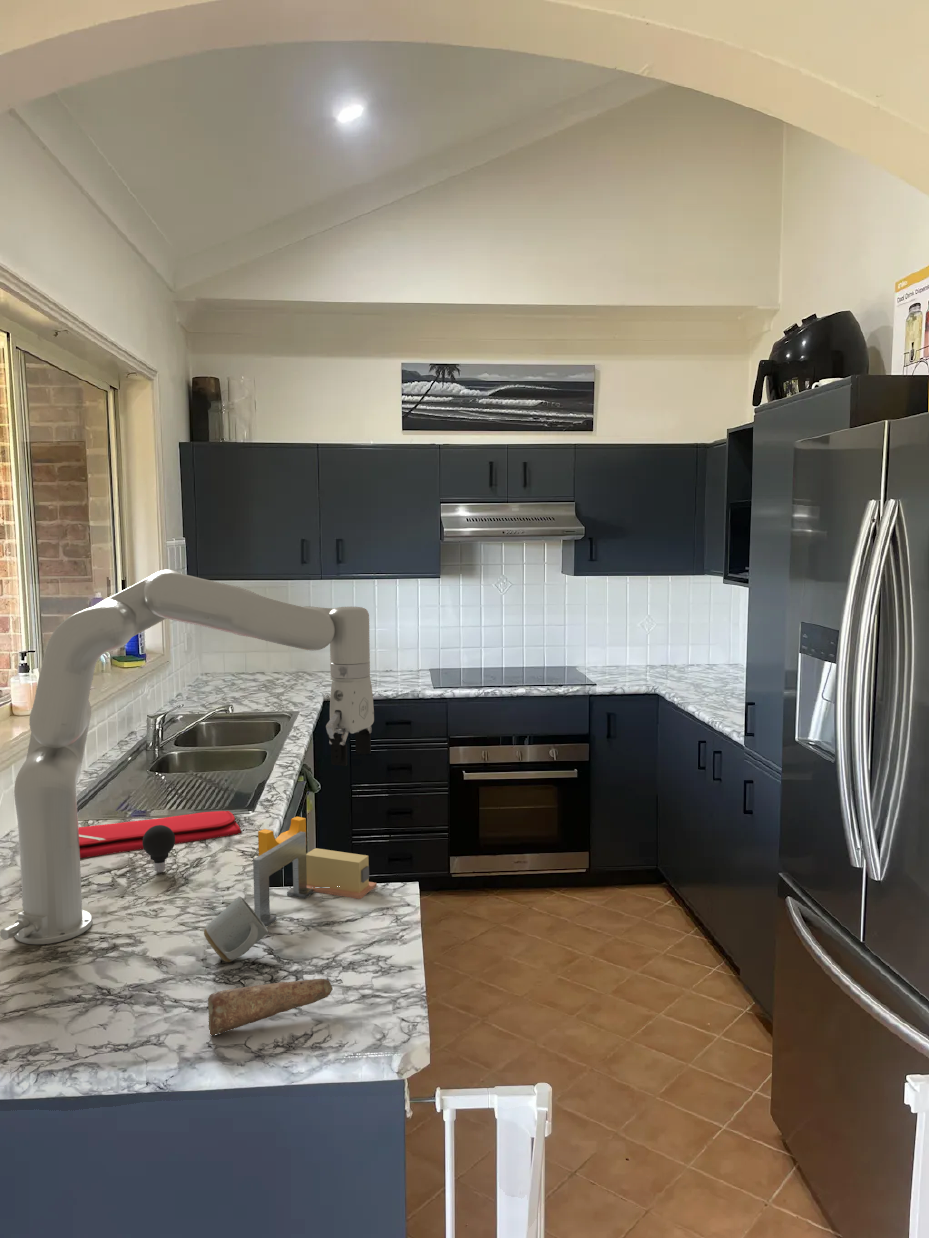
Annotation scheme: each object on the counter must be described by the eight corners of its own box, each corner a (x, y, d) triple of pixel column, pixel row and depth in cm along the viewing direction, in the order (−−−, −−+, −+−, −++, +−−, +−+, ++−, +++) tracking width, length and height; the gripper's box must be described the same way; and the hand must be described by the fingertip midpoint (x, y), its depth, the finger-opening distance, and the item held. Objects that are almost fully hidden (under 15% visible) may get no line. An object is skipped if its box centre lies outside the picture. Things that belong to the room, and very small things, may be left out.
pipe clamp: (292, 842, 202) (291, 815, 202) (306, 846, 200) (305, 818, 199) (253, 859, 192) (252, 830, 192) (267, 863, 190) (266, 833, 189)
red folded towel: (242, 836, 207) (241, 821, 207) (48, 866, 189) (47, 849, 189) (228, 817, 221) (227, 803, 221) (46, 843, 203) (45, 827, 203)
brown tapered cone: (202, 1025, 127) (201, 984, 126) (323, 995, 135) (322, 956, 135) (212, 1048, 121) (210, 1005, 121) (337, 1015, 130) (337, 974, 129)
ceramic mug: (227, 963, 148) (200, 926, 149) (269, 930, 151) (242, 893, 152) (225, 970, 138) (196, 930, 139) (269, 935, 141) (240, 895, 142)
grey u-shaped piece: (267, 926, 159) (265, 861, 158) (248, 923, 160) (246, 858, 159) (313, 892, 174) (312, 833, 172) (295, 890, 175) (294, 830, 174)
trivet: (360, 899, 171) (360, 896, 170) (296, 889, 175) (296, 886, 175) (376, 885, 177) (376, 882, 177) (314, 876, 182) (314, 873, 182)
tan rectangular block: (361, 893, 172) (361, 863, 171) (305, 884, 176) (304, 854, 176) (371, 885, 176) (370, 856, 175) (315, 876, 180) (315, 848, 180)
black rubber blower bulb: (165, 864, 189) (163, 818, 188) (182, 872, 184) (180, 825, 184) (137, 873, 184) (135, 826, 183) (154, 881, 180) (152, 833, 179)
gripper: (346, 679, 161) (347, 771, 163) (387, 666, 178) (388, 750, 179) (309, 677, 164) (311, 768, 166) (354, 664, 180) (355, 747, 182)
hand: (351, 758), depth 172 cm, fingers open, 9 cm apart
